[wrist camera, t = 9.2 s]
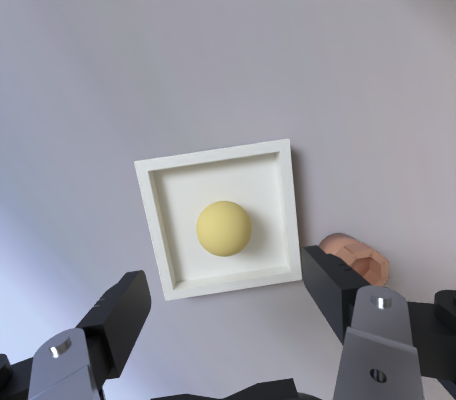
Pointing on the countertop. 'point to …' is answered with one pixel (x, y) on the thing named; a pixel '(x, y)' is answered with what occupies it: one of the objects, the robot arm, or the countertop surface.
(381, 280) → the cup
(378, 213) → the countertop surface
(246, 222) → the ball
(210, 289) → the tray
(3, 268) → the countertop surface
